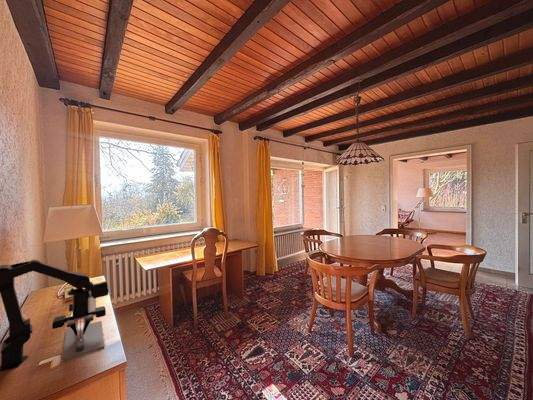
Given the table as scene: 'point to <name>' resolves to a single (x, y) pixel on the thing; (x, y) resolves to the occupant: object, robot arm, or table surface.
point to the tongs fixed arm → (79, 340)
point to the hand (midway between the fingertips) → (80, 334)
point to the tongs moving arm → (81, 328)
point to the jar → (92, 303)
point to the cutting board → (91, 341)
